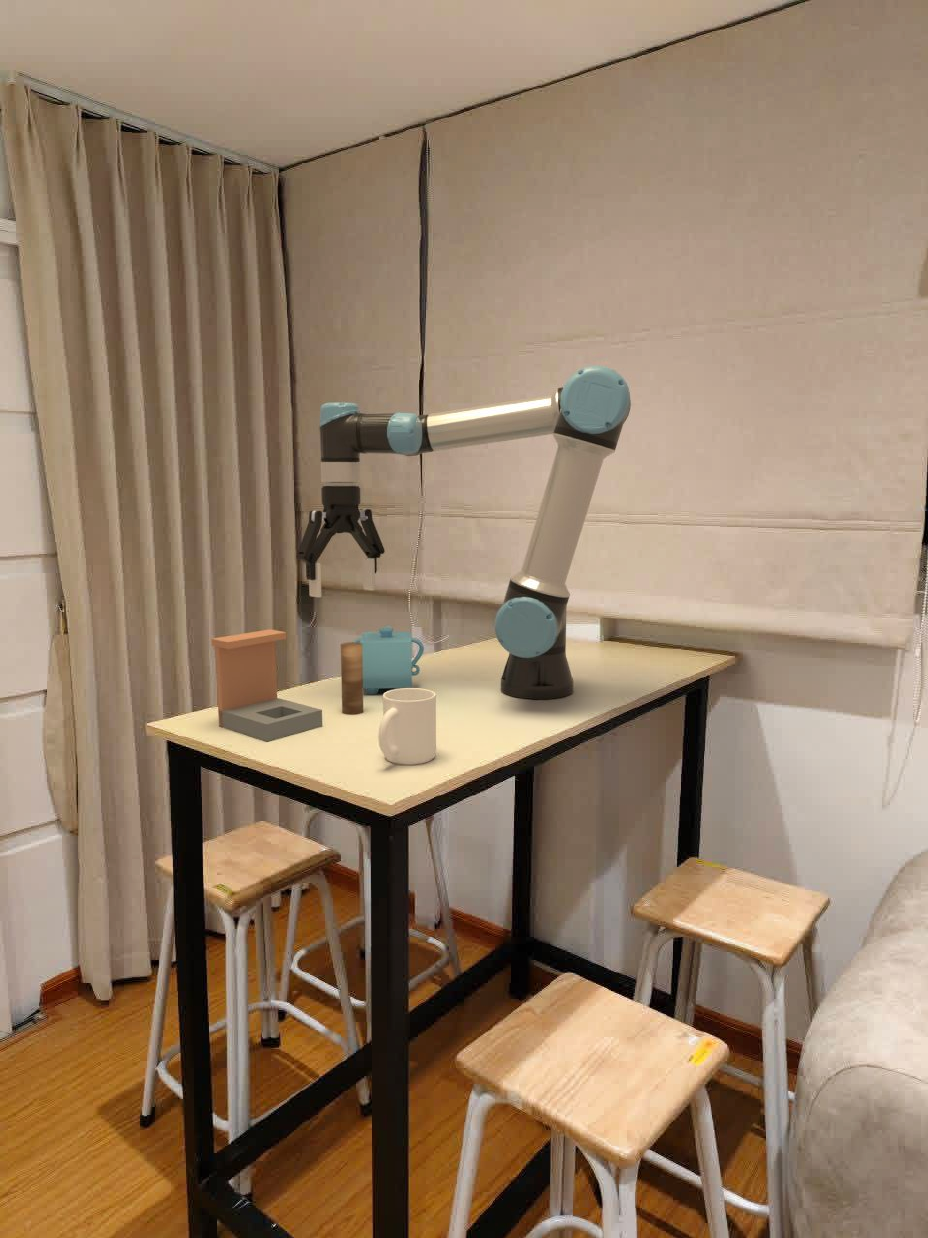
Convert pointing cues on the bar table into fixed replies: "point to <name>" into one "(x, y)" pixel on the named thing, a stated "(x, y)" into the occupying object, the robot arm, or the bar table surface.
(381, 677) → the teal cube teapot
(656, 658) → the bar table surface
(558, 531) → the robot arm
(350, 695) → the walnut peg
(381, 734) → the mug
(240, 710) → the socket stand
